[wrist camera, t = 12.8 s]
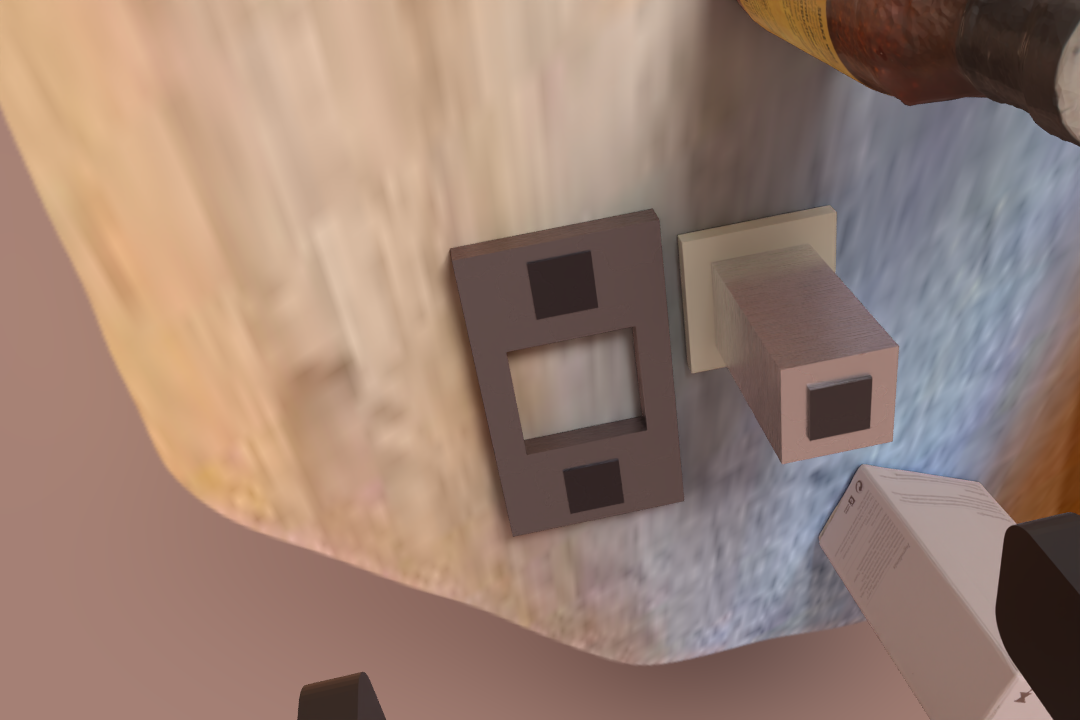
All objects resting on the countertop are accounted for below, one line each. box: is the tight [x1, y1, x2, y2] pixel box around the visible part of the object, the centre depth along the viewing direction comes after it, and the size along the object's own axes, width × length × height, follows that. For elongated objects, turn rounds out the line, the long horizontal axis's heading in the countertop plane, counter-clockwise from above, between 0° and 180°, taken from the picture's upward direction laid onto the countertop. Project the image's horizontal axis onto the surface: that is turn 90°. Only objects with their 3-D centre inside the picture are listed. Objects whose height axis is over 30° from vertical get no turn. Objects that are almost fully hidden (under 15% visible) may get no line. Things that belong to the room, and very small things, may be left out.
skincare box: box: [819, 464, 1053, 720], centre depth 48 cm, size 8×6×15 cm
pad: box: [677, 205, 837, 374], centre depth 45 cm, size 7×7×1 cm
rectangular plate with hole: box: [450, 209, 684, 537], centre depth 46 cm, size 9×16×1 cm, turn 9°
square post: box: [711, 243, 899, 464], centre depth 41 cm, size 4×4×9 cm
